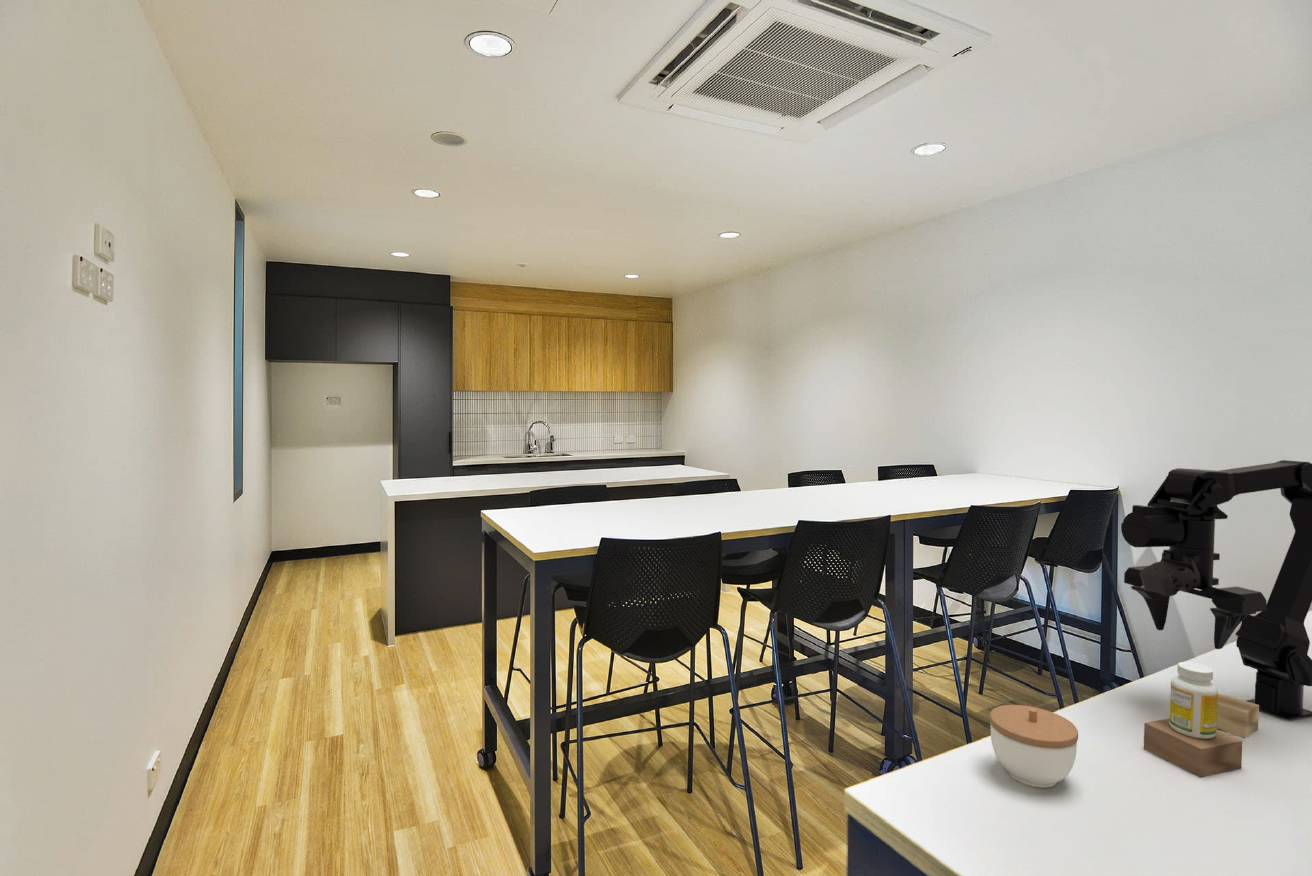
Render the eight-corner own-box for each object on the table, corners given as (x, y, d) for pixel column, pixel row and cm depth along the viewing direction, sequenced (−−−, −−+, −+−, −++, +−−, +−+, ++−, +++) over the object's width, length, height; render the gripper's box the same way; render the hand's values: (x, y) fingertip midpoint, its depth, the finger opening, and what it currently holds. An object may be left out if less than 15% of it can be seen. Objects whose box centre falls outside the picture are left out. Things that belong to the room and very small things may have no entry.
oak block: (1219, 717, 109) (1220, 693, 109) (1258, 729, 105) (1259, 705, 105) (1206, 724, 107) (1207, 700, 107) (1245, 737, 103) (1246, 712, 102)
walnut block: (1182, 740, 102) (1183, 715, 102) (1241, 768, 94) (1242, 740, 94) (1143, 748, 100) (1144, 722, 99) (1200, 777, 92) (1201, 749, 92)
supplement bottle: (1172, 734, 96) (1174, 669, 95) (1166, 719, 100) (1168, 657, 100) (1220, 743, 93) (1222, 676, 93) (1212, 727, 98) (1214, 664, 97)
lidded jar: (1026, 802, 86) (1028, 732, 86) (972, 759, 97) (973, 697, 96) (1096, 792, 88) (1098, 724, 88) (1035, 751, 99) (1037, 690, 98)
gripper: (1101, 537, 115) (1098, 625, 116) (1217, 561, 97) (1213, 665, 98) (1149, 534, 118) (1146, 619, 119) (1270, 556, 100) (1266, 657, 101)
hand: (1188, 638), depth 109 cm, fingers open, 9 cm apart
